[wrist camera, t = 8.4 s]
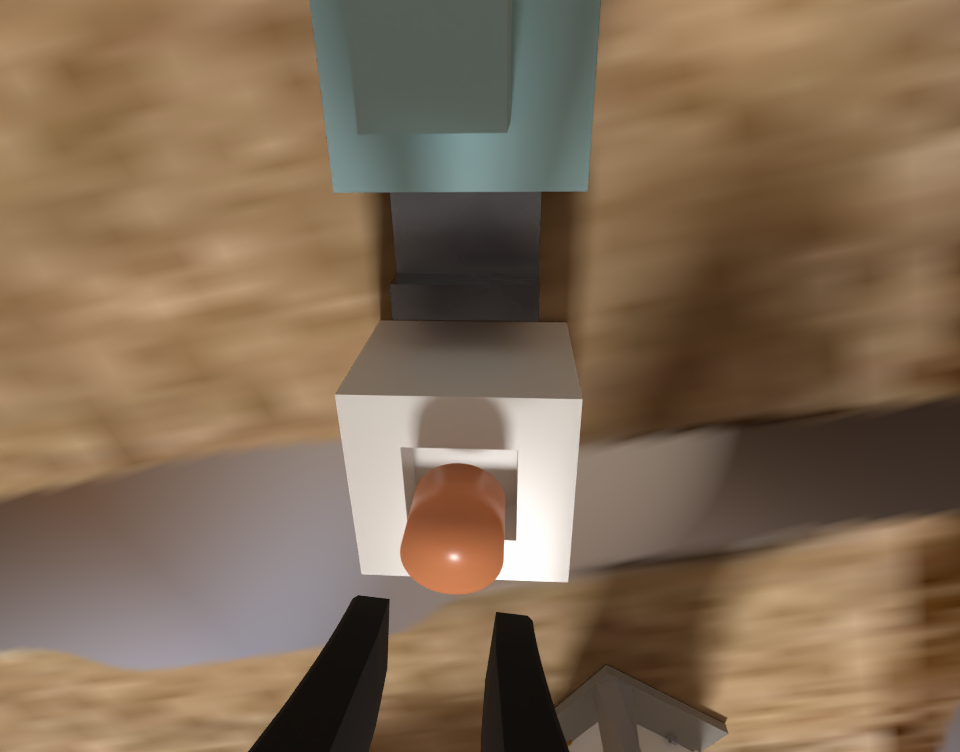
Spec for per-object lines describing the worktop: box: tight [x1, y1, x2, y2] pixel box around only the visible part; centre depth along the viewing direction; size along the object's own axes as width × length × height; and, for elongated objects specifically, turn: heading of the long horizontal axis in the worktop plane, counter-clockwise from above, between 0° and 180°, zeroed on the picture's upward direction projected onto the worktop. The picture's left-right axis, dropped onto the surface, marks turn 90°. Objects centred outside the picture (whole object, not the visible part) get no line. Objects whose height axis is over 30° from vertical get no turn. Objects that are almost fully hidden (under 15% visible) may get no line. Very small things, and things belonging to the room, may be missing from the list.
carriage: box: [309, 0, 601, 193], centre depth 11 cm, size 6×6×5 cm
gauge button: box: [400, 463, 506, 594], centre depth 14 cm, size 2×2×2 cm
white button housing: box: [335, 320, 582, 582], centre depth 17 cm, size 6×6×5 cm
